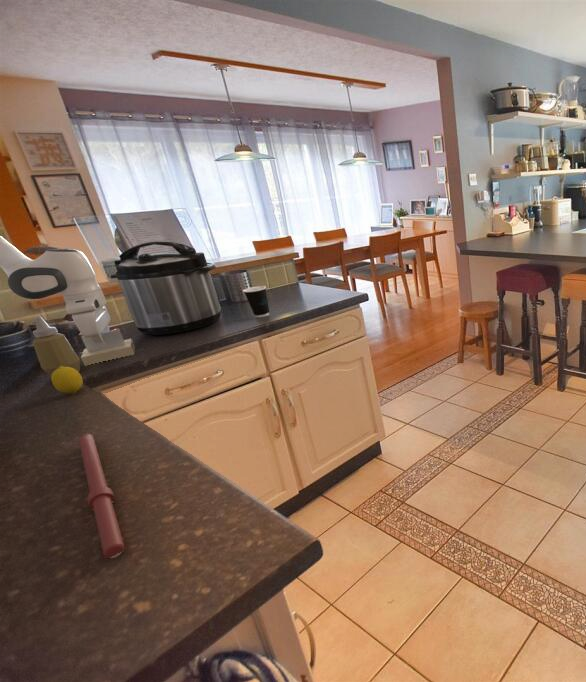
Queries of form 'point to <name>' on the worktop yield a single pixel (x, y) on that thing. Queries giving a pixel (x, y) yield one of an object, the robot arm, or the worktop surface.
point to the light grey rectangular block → (105, 340)
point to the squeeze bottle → (53, 348)
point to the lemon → (66, 379)
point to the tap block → (108, 353)
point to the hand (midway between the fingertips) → (105, 342)
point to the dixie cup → (258, 300)
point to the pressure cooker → (168, 289)
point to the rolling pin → (100, 499)
